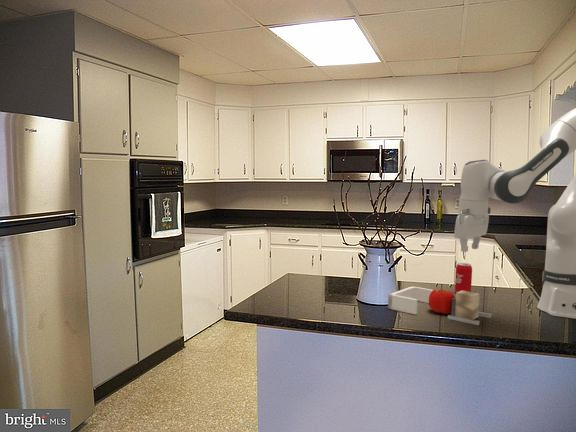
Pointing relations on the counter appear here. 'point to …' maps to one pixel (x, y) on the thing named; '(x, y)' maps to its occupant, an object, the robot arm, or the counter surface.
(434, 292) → the tomato
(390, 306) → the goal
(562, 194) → the robot arm
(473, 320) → the track
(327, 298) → the counter surface
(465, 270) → the beverage can
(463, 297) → the beige block
